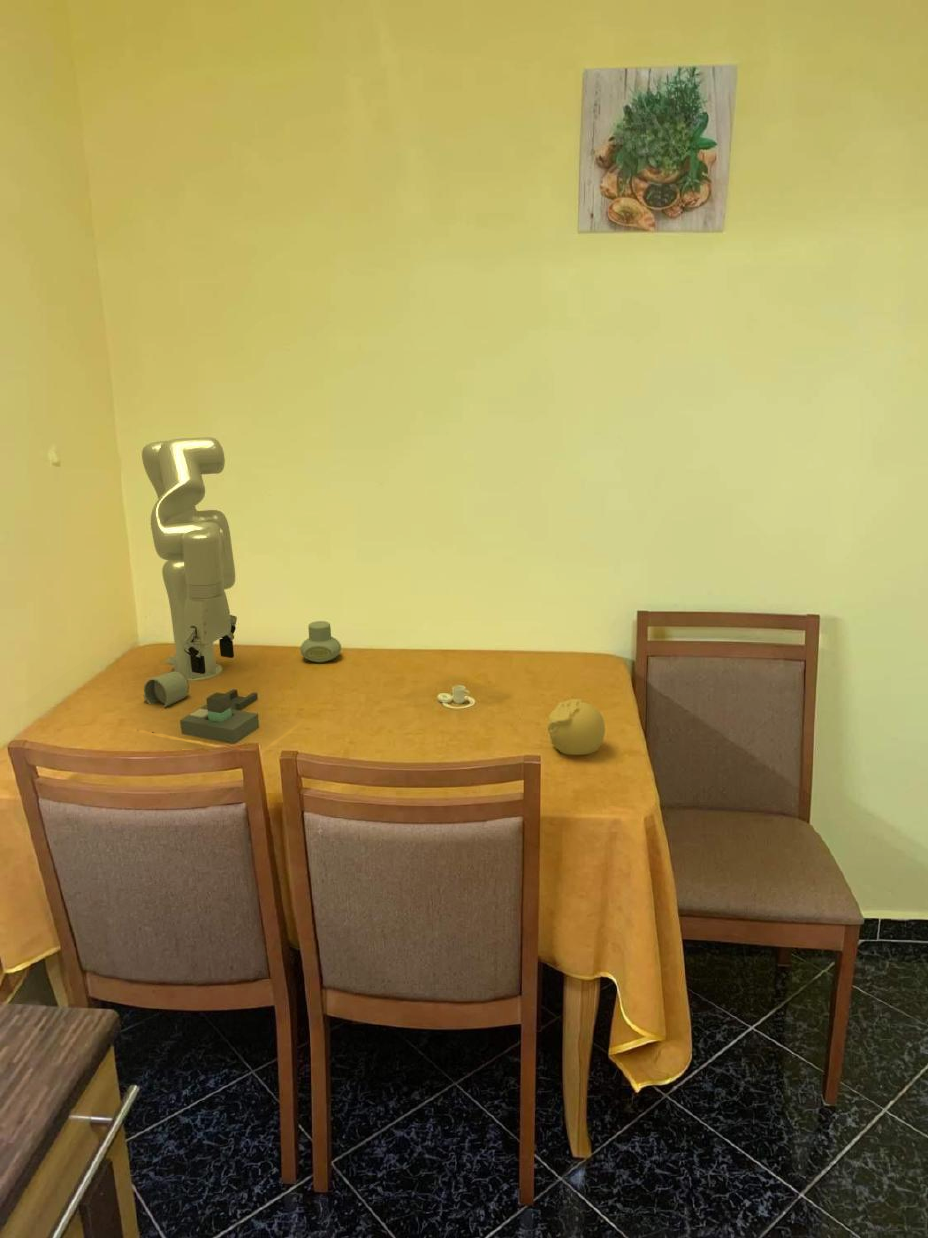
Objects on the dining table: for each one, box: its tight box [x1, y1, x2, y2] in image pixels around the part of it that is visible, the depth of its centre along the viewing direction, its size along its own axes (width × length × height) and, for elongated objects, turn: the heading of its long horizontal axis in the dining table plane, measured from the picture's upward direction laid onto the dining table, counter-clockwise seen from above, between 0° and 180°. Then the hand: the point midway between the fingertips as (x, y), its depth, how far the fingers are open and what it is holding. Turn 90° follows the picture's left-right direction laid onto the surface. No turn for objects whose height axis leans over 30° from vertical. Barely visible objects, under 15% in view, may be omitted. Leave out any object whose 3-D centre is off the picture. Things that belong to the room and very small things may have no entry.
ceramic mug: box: [143, 671, 190, 709], centre depth 208 cm, size 11×8×8 cm
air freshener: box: [300, 620, 342, 664], centre depth 235 cm, size 11×8×10 cm
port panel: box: [179, 704, 260, 745], centre depth 191 cm, size 14×9×4 cm, turn 68°
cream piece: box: [437, 684, 476, 710], centre depth 207 cm, size 9×8×4 cm
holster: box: [225, 688, 259, 711], centre depth 206 cm, size 7×7×2 cm
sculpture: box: [547, 698, 606, 756], centre depth 181 cm, size 12×12×11 cm
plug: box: [205, 692, 232, 723], centre depth 190 cm, size 4×4×8 cm
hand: (213, 664), depth 188 cm, fingers open, 9 cm apart
